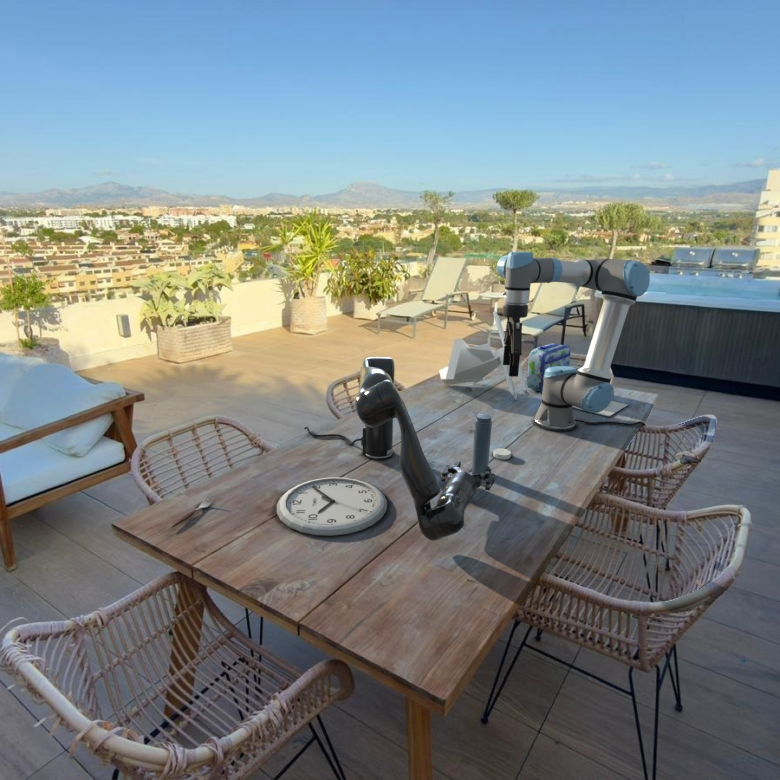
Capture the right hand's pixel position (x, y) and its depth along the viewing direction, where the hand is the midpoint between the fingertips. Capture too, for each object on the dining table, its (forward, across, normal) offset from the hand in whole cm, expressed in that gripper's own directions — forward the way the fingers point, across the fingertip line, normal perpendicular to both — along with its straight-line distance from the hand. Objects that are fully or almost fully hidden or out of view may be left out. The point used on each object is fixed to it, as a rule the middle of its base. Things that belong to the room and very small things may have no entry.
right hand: (510, 370), depth 167 cm
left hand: (+23, +24, -12) cm, 35 cm away
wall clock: (+30, +38, -51) cm, 70 cm away
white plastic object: (+30, -71, -1) cm, 77 cm away
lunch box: (+30, -82, +32) cm, 93 cm away
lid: (+29, 0, 0) cm, 29 cm away
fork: (+30, +46, -86) cm, 102 cm away
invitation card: (+30, -56, +50) cm, 81 cm away
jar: (+30, +14, -9) cm, 34 cm away
